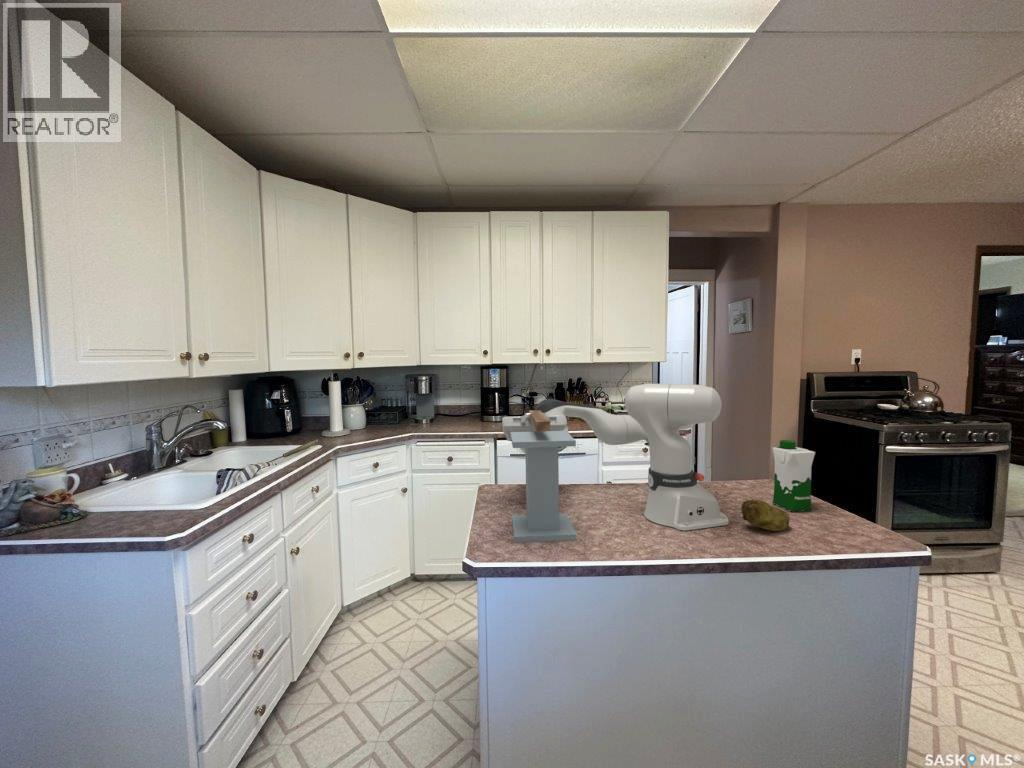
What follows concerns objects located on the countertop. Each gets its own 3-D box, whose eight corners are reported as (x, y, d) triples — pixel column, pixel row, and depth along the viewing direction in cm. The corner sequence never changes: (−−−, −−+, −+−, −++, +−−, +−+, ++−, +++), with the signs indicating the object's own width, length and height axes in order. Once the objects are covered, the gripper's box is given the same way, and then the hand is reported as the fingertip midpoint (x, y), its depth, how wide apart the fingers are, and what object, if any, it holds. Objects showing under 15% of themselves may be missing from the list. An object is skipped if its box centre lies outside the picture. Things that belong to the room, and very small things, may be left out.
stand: (566, 518, 117) (565, 430, 116) (576, 540, 103) (575, 440, 102) (512, 520, 117) (510, 432, 115) (514, 542, 103) (512, 442, 101)
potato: (800, 537, 103) (801, 506, 102) (747, 534, 105) (747, 504, 104) (784, 523, 111) (784, 495, 111) (734, 521, 113) (734, 494, 113)
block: (540, 418, 124) (540, 410, 124) (550, 431, 102) (550, 421, 102) (529, 418, 124) (528, 410, 124) (536, 431, 102) (536, 421, 102)
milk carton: (792, 501, 128) (793, 439, 127) (817, 511, 119) (819, 445, 118) (767, 503, 127) (769, 440, 125) (791, 514, 118) (793, 446, 116)
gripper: (564, 439, 131) (571, 424, 118) (502, 441, 130) (502, 426, 117) (562, 421, 134) (569, 404, 121) (501, 422, 133) (502, 406, 120)
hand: (536, 415), depth 119 cm, fingers closed on block, 3 cm apart
